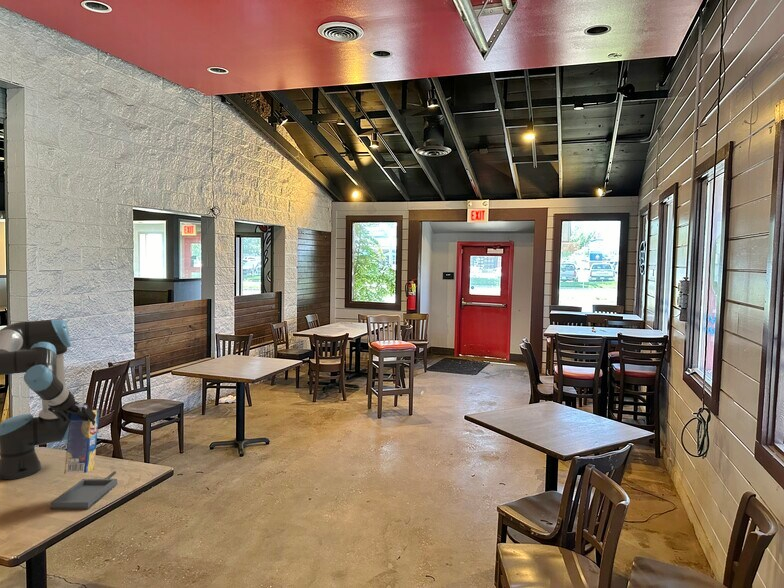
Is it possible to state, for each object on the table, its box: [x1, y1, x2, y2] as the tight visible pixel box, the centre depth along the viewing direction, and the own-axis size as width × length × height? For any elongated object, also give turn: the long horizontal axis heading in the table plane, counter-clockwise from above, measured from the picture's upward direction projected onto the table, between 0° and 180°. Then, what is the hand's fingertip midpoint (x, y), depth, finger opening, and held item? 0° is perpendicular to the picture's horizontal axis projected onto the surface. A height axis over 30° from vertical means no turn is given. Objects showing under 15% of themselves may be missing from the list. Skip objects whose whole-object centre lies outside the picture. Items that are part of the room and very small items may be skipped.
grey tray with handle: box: [50, 470, 118, 510], centre depth 201 cm, size 30×13×2 cm, turn 0°
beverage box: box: [63, 409, 101, 475], centre depth 195 cm, size 7×11×22 cm, turn 14°
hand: (88, 427), depth 199 cm, fingers closed on beverage box, 4 cm apart
